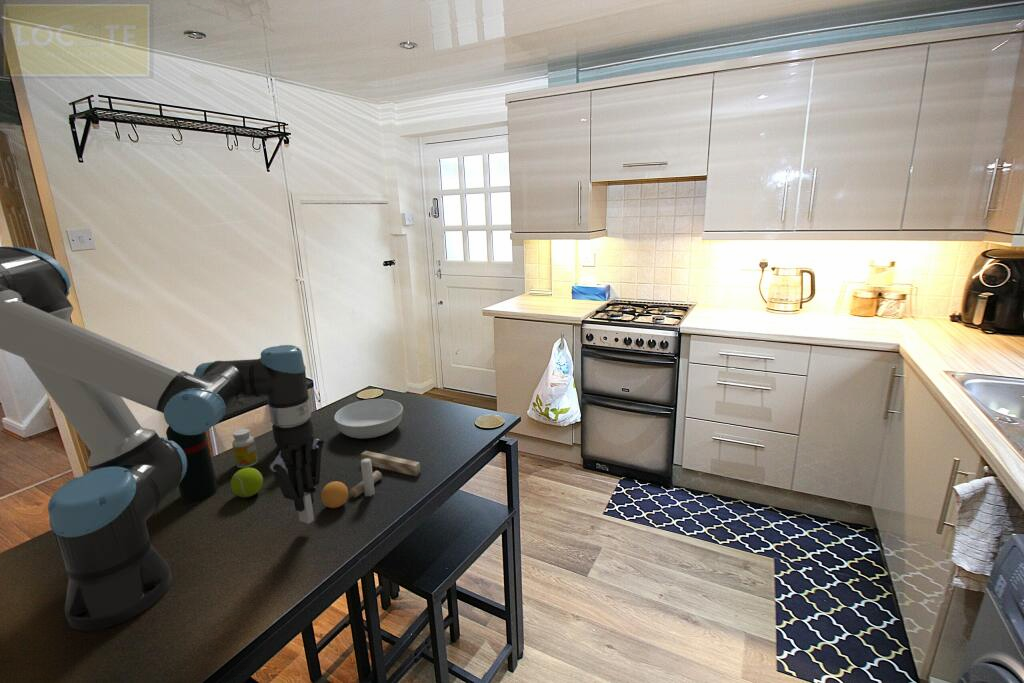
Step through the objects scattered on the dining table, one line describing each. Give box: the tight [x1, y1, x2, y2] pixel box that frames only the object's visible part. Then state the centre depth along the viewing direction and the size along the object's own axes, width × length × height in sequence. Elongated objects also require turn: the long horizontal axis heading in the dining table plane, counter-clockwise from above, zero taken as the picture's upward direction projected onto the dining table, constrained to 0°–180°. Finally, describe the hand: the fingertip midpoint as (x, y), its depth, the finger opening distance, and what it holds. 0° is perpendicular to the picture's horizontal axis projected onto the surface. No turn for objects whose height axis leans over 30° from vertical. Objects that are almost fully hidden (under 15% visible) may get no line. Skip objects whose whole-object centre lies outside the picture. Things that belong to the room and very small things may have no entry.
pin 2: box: [349, 470, 383, 498], centre depth 121 cm, size 2×2×9 cm
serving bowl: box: [333, 398, 404, 439], centre depth 152 cm, size 21×21×7 cm
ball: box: [320, 480, 349, 509], centre depth 113 cm, size 6×6×6 cm
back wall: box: [360, 450, 421, 477], centre depth 130 cm, size 18×2×3 cm, turn 66°
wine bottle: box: [165, 425, 219, 504], centre depth 116 cm, size 8×10×30 cm
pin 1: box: [360, 459, 376, 497], centre depth 117 cm, size 2×2×9 cm
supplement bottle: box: [231, 428, 259, 469], centre depth 134 cm, size 5×5×10 cm
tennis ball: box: [230, 467, 264, 498], centre depth 119 cm, size 7×7×7 cm
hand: (306, 520), depth 105 cm, fingers closed
